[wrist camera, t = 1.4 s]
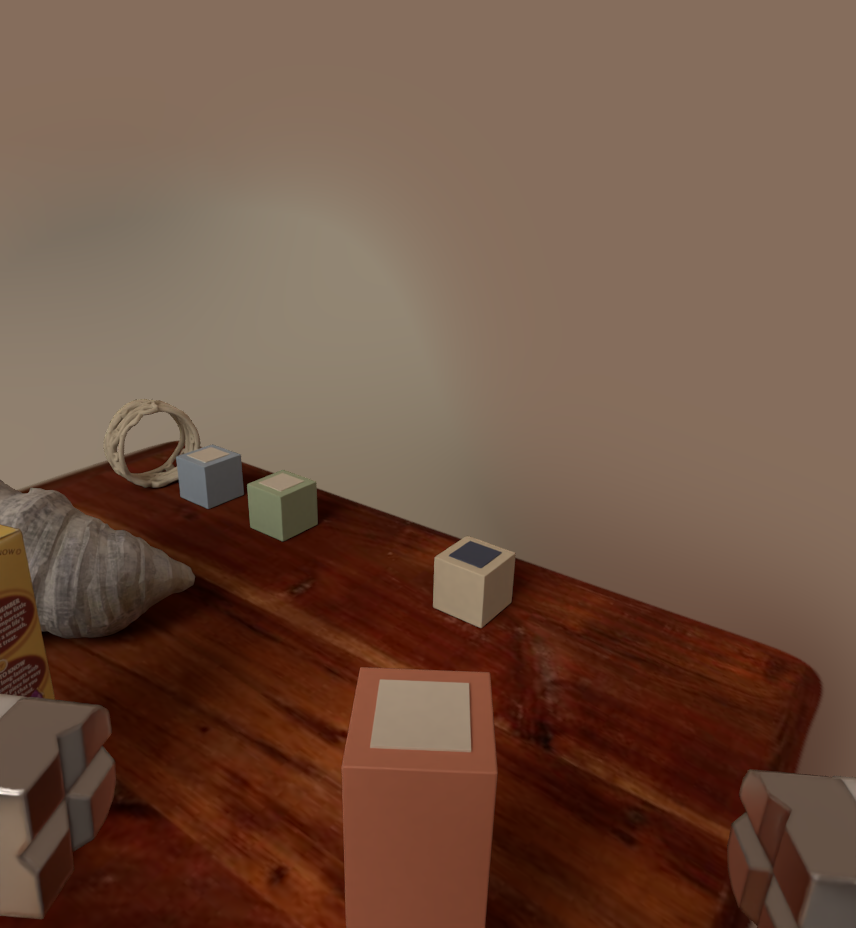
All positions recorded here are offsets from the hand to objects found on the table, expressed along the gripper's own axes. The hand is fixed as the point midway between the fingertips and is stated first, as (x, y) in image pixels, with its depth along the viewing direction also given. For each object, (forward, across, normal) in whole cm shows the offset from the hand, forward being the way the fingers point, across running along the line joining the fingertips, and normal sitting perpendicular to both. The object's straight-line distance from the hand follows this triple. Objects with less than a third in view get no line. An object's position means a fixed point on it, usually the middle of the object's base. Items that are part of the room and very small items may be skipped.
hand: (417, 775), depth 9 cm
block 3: (+37, -2, +18) cm, 41 cm away
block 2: (+47, +14, +18) cm, 52 cm away
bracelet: (+54, +29, +18) cm, 64 cm away
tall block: (+12, 0, +20) cm, 23 cm away
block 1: (+52, +22, +18) cm, 59 cm away
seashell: (+32, +27, +20) cm, 46 cm away
